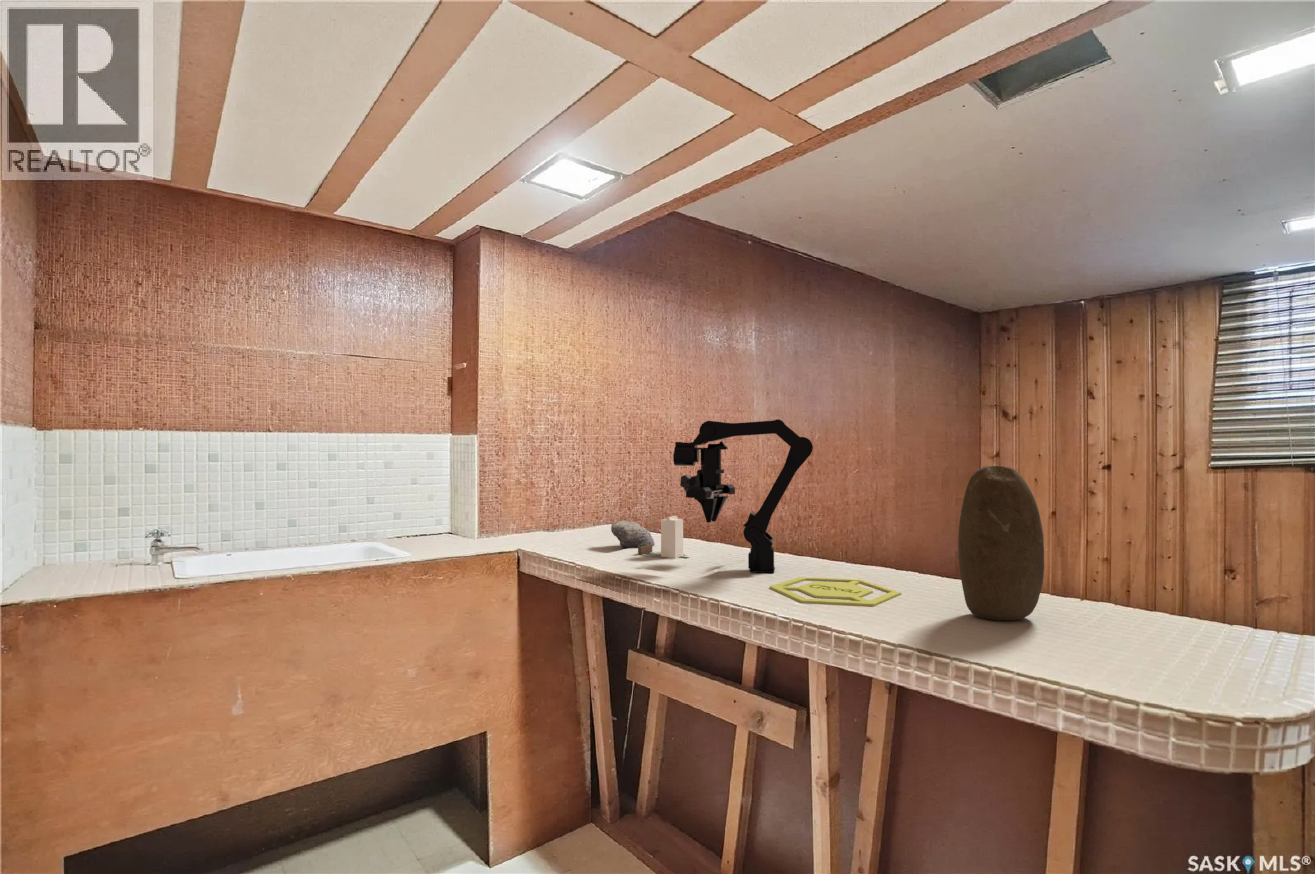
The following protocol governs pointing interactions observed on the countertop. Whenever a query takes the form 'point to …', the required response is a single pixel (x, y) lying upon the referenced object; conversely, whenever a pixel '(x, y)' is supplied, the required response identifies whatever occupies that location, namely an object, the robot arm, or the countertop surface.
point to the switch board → (648, 551)
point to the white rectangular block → (672, 537)
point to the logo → (834, 591)
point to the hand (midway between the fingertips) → (711, 521)
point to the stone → (1000, 545)
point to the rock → (631, 534)
